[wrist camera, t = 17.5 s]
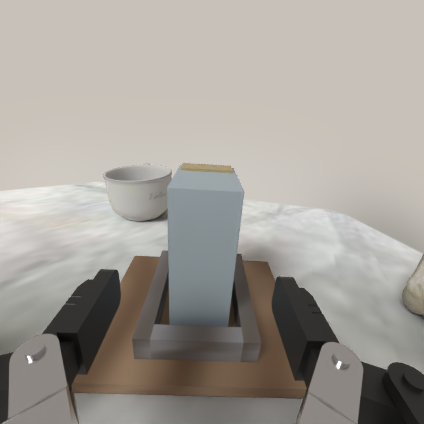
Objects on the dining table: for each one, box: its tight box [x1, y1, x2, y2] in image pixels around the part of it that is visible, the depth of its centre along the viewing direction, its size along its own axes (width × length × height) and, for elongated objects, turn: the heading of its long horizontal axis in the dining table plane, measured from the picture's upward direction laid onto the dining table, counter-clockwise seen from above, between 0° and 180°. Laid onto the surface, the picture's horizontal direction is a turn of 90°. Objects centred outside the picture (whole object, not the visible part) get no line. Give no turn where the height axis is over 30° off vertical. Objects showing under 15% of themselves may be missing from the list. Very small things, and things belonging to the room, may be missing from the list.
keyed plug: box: [167, 163, 244, 327], centre depth 19 cm, size 4×6×12 cm
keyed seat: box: [72, 251, 307, 398], centre depth 21 cm, size 16×14×3 cm
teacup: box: [103, 164, 172, 221], centre depth 41 cm, size 14×11×8 cm
